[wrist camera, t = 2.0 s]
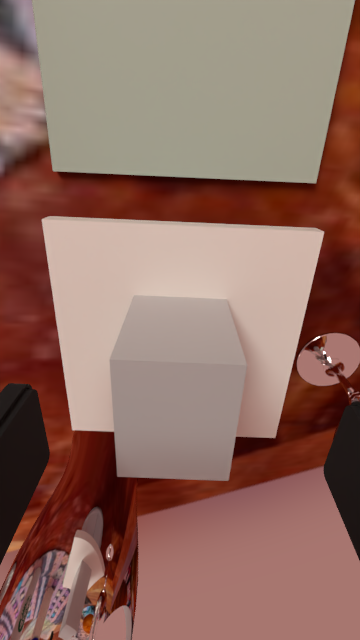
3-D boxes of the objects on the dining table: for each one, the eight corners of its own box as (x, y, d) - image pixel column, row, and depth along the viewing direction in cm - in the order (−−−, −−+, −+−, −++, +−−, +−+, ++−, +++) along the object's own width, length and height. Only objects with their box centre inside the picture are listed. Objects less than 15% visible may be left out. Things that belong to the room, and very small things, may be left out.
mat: (312, 182, 17) (316, 183, 17) (56, 170, 17) (52, 171, 17) (402, -249, 11) (411, -266, 11) (4, -272, 11) (-4, -290, 11)
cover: (271, 427, 18) (307, 534, 13) (76, 419, 18) (33, 524, 13) (316, 228, 13) (403, 270, 8) (49, 216, 13) (-40, 251, 8)
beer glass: (91, 394, 24) (-25, 686, 11) (169, 432, 26) (154, 727, 12) (54, 449, 27) (-76, 739, 13) (127, 480, 28) (76, 767, 15)
